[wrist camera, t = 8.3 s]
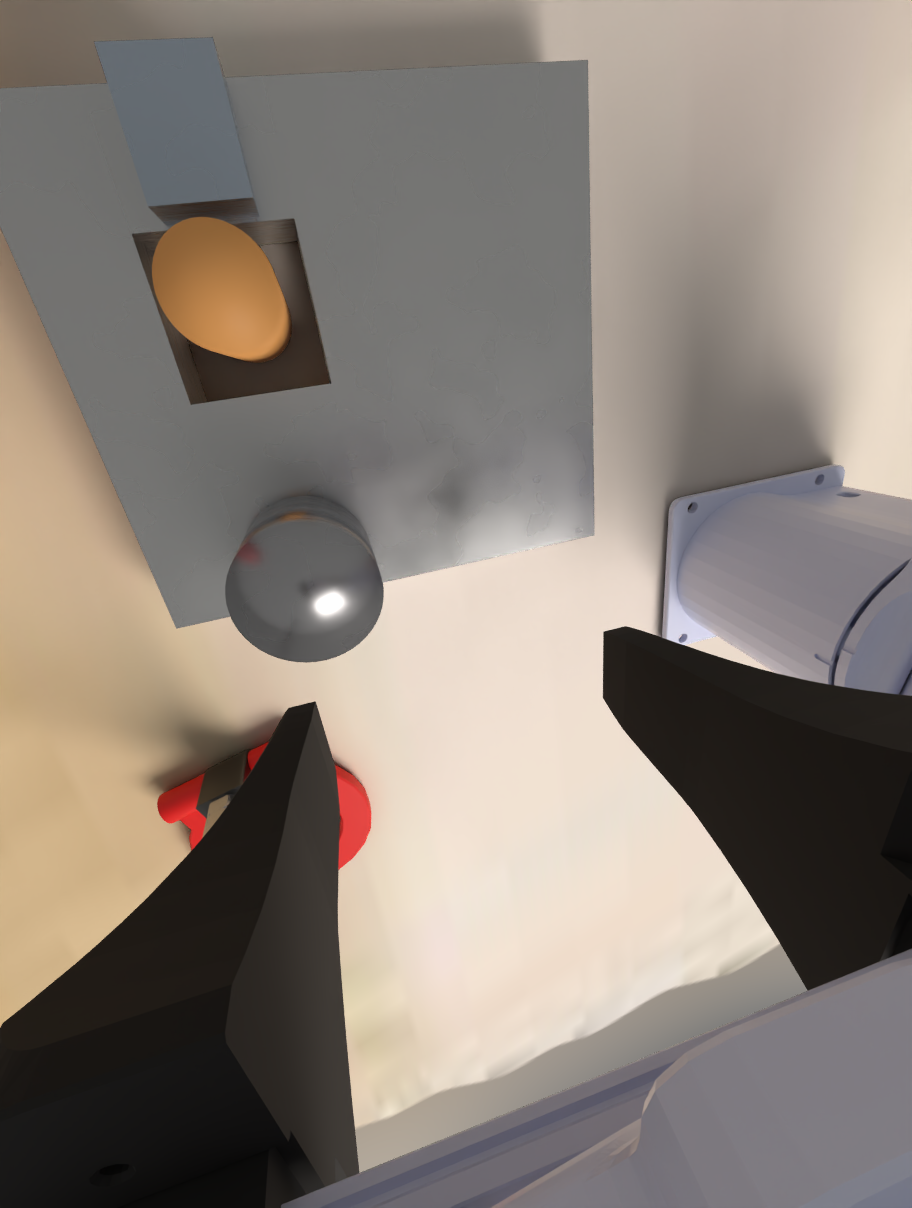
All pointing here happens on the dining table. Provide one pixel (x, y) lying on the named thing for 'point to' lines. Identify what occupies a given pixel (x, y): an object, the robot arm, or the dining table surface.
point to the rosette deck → (322, 320)
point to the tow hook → (220, 783)
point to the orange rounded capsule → (221, 290)
